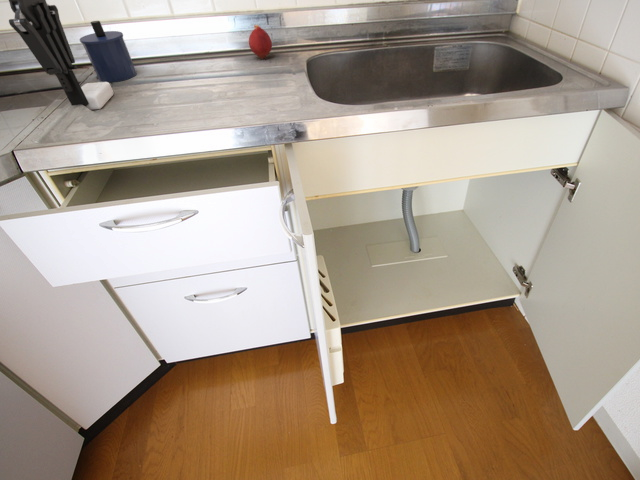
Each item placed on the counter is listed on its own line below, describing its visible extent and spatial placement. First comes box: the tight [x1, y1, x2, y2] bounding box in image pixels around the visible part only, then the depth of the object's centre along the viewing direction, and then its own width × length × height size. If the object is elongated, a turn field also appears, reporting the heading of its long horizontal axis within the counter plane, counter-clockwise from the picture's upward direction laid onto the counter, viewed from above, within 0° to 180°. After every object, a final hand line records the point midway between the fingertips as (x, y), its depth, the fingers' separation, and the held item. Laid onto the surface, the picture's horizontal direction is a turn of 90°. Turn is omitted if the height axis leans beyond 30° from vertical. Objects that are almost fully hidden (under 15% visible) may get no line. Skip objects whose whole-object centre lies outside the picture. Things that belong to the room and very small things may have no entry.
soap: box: [81, 81, 114, 111], centre depth 85 cm, size 9×6×3 cm, turn 6°
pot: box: [81, 36, 137, 83], centre depth 96 cm, size 9×9×8 cm
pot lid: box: [79, 20, 124, 45], centre depth 92 cm, size 9×9×4 cm
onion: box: [248, 24, 273, 60], centre depth 102 cm, size 6×6×8 cm
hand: (80, 105), depth 81 cm, fingers closed
